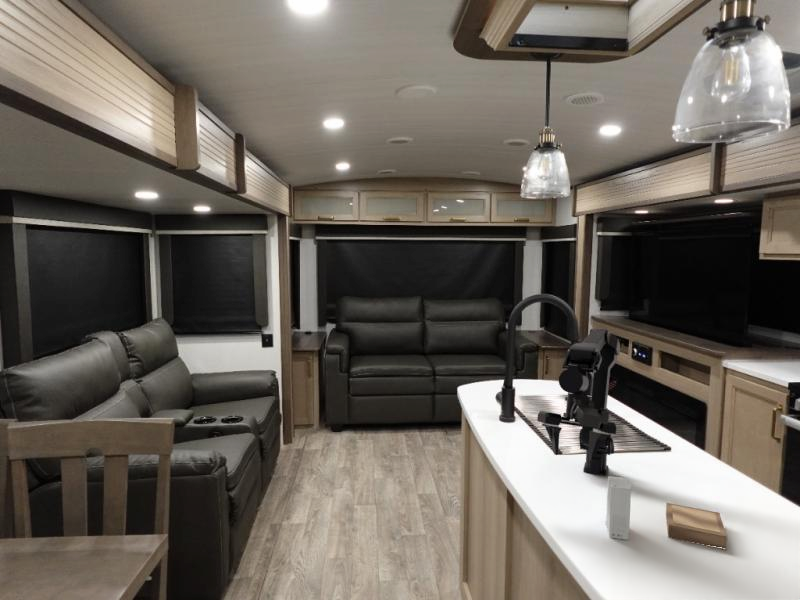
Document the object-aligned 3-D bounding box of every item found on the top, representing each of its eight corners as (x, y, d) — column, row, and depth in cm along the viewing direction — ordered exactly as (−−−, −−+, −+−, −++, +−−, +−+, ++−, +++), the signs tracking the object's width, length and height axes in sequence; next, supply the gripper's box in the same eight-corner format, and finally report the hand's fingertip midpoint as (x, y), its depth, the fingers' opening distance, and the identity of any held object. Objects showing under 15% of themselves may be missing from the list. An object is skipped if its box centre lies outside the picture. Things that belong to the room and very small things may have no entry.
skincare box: (629, 540, 110) (631, 489, 109) (609, 537, 111) (610, 487, 110) (625, 526, 116) (626, 477, 115) (605, 523, 117) (607, 475, 116)
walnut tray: (665, 514, 121) (666, 502, 121) (718, 524, 116) (719, 512, 116) (668, 537, 111) (669, 524, 111) (726, 549, 106) (726, 536, 106)
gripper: (558, 390, 117) (550, 458, 114) (632, 402, 118) (626, 469, 116) (539, 388, 128) (533, 450, 125) (607, 399, 129) (602, 460, 127)
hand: (573, 457), depth 123 cm, fingers open, 9 cm apart
